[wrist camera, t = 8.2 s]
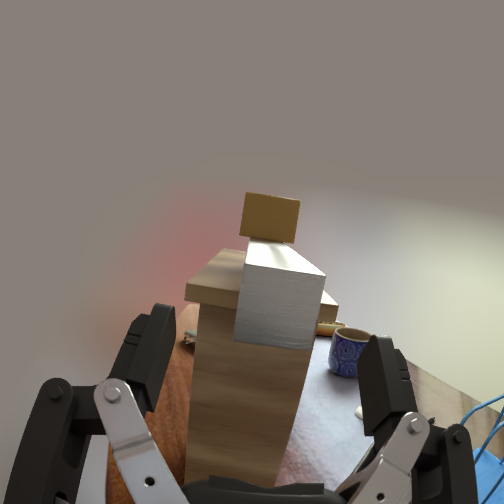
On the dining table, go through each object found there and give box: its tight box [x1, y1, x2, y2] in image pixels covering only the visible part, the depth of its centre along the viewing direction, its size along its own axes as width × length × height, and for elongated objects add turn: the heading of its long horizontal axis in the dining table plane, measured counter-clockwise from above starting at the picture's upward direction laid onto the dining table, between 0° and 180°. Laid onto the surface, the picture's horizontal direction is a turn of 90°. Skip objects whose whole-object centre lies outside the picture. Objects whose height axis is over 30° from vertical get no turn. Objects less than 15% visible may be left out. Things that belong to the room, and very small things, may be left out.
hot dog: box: [316, 321, 345, 336], centre depth 107 cm, size 5×13×5 cm, turn 95°
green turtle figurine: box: [183, 329, 197, 344], centre depth 82 cm, size 9×11×5 cm
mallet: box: [233, 192, 326, 351], centre depth 22 cm, size 22×5×7 cm, turn 0°
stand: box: [184, 249, 339, 488], centre depth 34 cm, size 25×10×31 cm, turn 0°
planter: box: [328, 327, 372, 377], centre depth 78 cm, size 11×11×11 cm
